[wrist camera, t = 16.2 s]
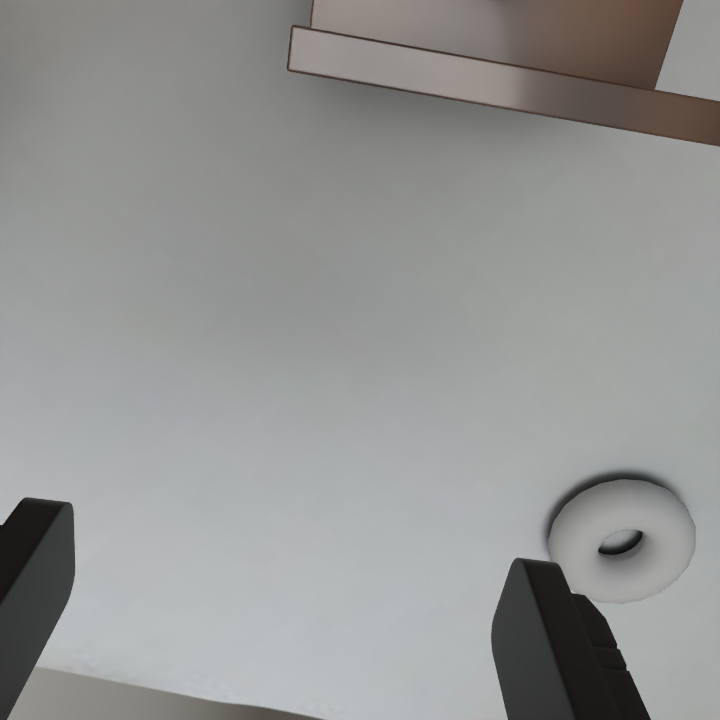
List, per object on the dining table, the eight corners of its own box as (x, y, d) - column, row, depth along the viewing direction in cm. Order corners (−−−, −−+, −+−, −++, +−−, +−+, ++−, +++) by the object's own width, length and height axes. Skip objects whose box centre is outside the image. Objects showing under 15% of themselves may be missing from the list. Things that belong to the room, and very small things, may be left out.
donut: (561, 593, 50) (694, 556, 48) (574, 629, 47) (717, 592, 45) (526, 494, 46) (669, 450, 44) (537, 527, 43) (692, 481, 41)
